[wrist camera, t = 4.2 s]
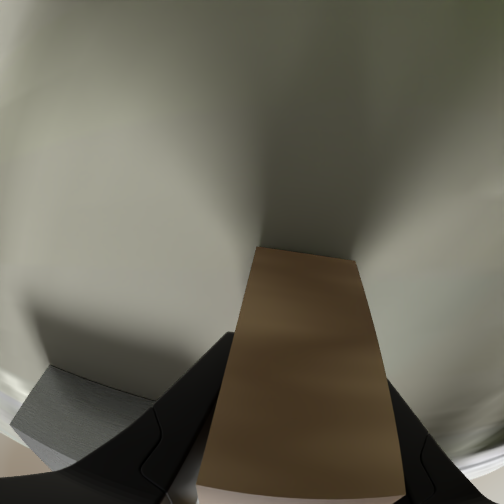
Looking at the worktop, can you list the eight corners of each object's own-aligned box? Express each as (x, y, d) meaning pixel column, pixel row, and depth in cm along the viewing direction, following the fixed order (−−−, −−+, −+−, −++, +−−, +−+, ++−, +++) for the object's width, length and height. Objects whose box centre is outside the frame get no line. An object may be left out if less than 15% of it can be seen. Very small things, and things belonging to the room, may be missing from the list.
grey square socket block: (207, 413, 15) (184, 498, 10) (209, 476, 19) (195, 531, 15) (49, 364, 15) (9, 424, 11) (92, 441, 20) (70, 487, 16)
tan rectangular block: (355, 260, 9) (405, 494, 3) (325, 354, 11) (327, 540, 5) (256, 246, 9) (195, 484, 3) (245, 343, 11) (204, 529, 5)
